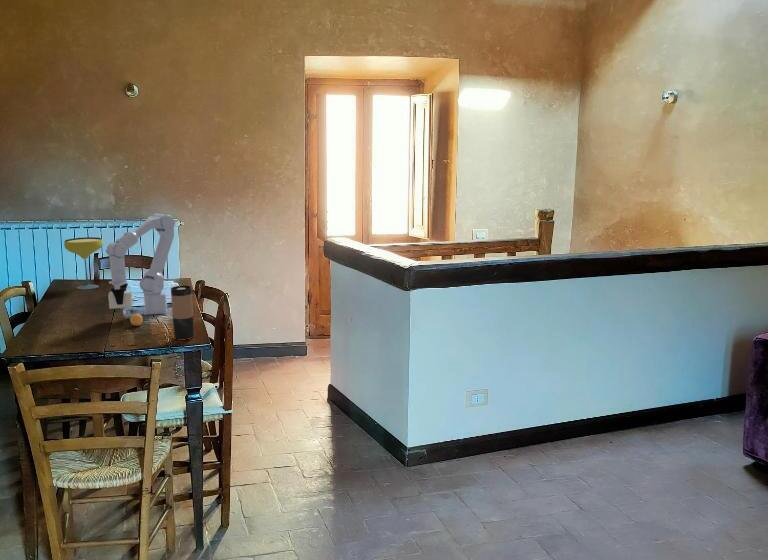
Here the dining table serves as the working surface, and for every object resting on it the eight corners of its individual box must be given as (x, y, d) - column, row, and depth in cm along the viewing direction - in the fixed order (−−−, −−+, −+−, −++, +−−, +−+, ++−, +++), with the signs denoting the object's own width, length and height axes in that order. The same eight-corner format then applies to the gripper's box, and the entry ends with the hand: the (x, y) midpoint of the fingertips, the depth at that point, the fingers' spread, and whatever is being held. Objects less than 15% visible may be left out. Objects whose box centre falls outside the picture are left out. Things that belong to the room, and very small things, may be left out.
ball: (143, 323, 293) (142, 311, 292) (142, 326, 288) (141, 314, 287) (131, 324, 291) (130, 312, 290) (129, 327, 287) (128, 315, 286)
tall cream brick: (132, 304, 301) (131, 290, 300) (131, 307, 295) (129, 293, 294) (111, 305, 299) (110, 291, 298) (109, 308, 294) (108, 294, 292)
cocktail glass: (72, 284, 370) (67, 238, 365) (108, 283, 374) (104, 236, 369) (65, 292, 353) (60, 243, 348) (103, 290, 357) (99, 241, 352)
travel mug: (198, 336, 274) (195, 286, 269) (187, 341, 266) (183, 290, 262) (181, 334, 276) (178, 285, 272) (170, 339, 269) (166, 289, 265)
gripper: (110, 268, 300) (113, 299, 303) (105, 274, 286) (108, 307, 289) (127, 267, 302) (130, 298, 305) (123, 274, 288) (126, 306, 291)
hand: (121, 302), depth 297 cm, fingers closed on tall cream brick, 6 cm apart
